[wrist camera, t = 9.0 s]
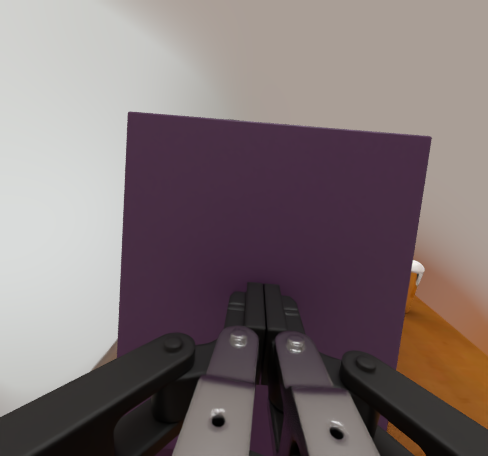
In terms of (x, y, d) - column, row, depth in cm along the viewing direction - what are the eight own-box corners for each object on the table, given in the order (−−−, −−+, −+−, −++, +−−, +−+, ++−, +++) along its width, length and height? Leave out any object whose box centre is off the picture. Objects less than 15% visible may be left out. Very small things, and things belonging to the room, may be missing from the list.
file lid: (135, 116, 13) (127, 110, 12) (421, 140, 12) (432, 135, 11) (120, 429, 14) (112, 443, 13) (373, 457, 14) (381, 473, 13)
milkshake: (374, 304, 47) (386, 251, 44) (394, 300, 49) (407, 250, 46) (397, 318, 43) (412, 261, 40) (418, 313, 45) (433, 259, 42)
